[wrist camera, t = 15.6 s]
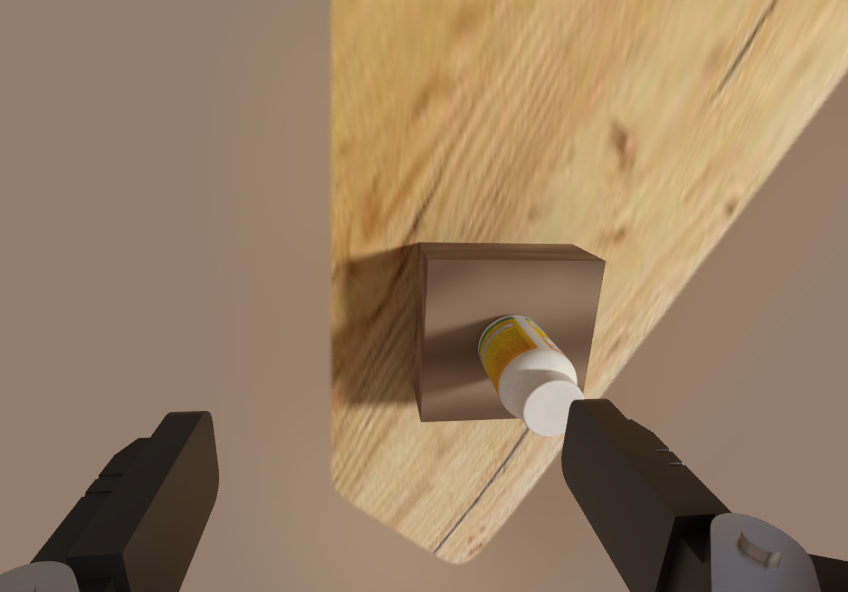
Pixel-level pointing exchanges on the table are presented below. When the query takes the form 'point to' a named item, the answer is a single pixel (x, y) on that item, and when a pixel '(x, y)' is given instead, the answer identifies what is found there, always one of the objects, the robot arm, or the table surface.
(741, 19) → the table surface
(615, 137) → the table surface
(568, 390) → the supplement bottle
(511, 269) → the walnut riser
